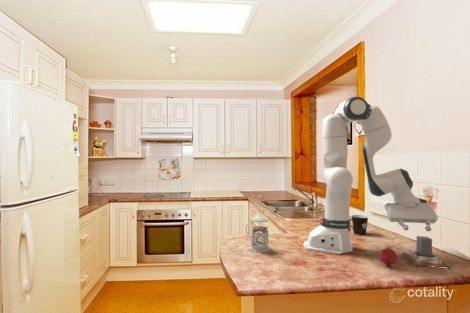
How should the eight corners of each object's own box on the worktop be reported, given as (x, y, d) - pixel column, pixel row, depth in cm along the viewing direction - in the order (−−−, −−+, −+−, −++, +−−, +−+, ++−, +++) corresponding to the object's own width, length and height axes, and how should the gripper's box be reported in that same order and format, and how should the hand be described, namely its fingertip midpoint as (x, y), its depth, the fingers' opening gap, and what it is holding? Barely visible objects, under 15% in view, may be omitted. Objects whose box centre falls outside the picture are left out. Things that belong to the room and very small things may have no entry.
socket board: (412, 265, 114) (412, 258, 114) (401, 254, 127) (401, 248, 127) (449, 269, 111) (449, 261, 111) (435, 257, 124) (435, 251, 124)
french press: (269, 252, 127) (270, 197, 128) (244, 250, 130) (244, 196, 130) (271, 246, 137) (271, 194, 137) (247, 244, 139) (248, 193, 140)
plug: (421, 260, 117) (421, 238, 117) (416, 257, 121) (416, 236, 121) (431, 261, 117) (431, 239, 117) (426, 257, 121) (426, 236, 121)
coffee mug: (364, 232, 166) (364, 215, 166) (370, 236, 158) (370, 218, 158) (344, 231, 167) (344, 214, 168) (348, 235, 159) (348, 217, 159)
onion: (388, 269, 110) (388, 248, 110) (377, 264, 115) (377, 244, 115) (400, 268, 111) (400, 247, 111) (388, 262, 117) (389, 243, 117)
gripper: (385, 199, 132) (395, 225, 122) (432, 200, 130) (445, 227, 120) (381, 207, 136) (390, 232, 126) (426, 208, 135) (438, 234, 125)
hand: (417, 230), depth 123 cm, fingers open, 8 cm apart
